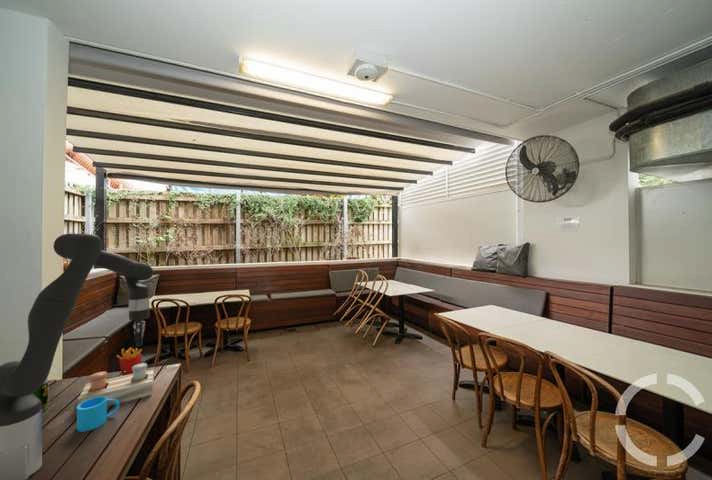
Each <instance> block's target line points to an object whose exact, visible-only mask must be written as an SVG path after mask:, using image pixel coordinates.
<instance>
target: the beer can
mask: <svg viewBox="0 0 712 480" xmlns="http://www.w3.org/2000/svg"><path fill="white" fill-rule="evenodd" d="M49 382H50V381H49V378H48V377H47V379H46V381H45V382H44V384H43V385H42V386H41V387H40V388H39V389H38V390H37V391H35V392H34V393H33V394H34V395H35V396H36V397H37V398H39V399H40V400H41V403H42V412H43V411H45V410H47V409H48V407H49V405H50V401H49V400H50V388H49V386H50V383H49Z"/></svg>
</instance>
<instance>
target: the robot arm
mask: <svg viewBox="0 0 712 480" xmlns="http://www.w3.org/2000/svg"><path fill="white" fill-rule="evenodd" d="M53 251H54V252H55V254H57V256H59V257H61V258H63V259H68V260H70V261H69V263H68V265H67V267H66V269H65V270H63V272H62V273H61V274H60V275H59V276H57V277H56V279H54V280H53V281H51V282H50V283H49V284H48V285H47V286H45V287H44V288H43V289H42V290H41V291H40V292H39V293H38V295H37V297H36V298H35V300H34V302H33V305H32V306H31V308H30V311H29V313H28V317H27V329H28V330H27V331H28V342H27V343H28V344H27V347H26V349H25V352H24V354H23V356H22V358H21V360H14V361H8V362H6V363H3V364H0V480H28V479H29V477H30V476H32V475H33V474H35V473H36V472H37V471H38V470H39V469H41V467H42V465H43V453H42V452H43V449H42V448H43V439H42V435H43V432H42V430H43V429H42V427H43V426H42V424H43V423H42V421H43V417H42V412H43V411H42V403H41V400H40V399H39V398H37V397H36V396H35V395H34V394H33V393H34V392H35V391H37V390H38V389H39V388H40V387H41V386H42V385H43V384H44V382H45V381H46V379H47V378H48V377H49V375H50V372H51V369H52V366H53V363H54V358H55V355H56V351H57V348H58V345H59V343H60V340H61V337H62V336H63V332H64V330H65V328H66V325H67V323H68V321H69V319H70V316H71V315H72V312H73V310H74V308H75V305H76V303H77V300H78V297H79V295H80V292H81V291H82V288H83V286H84V284H85V282H86V280H87V277H88V276H89V274H90V272H91V271H92V269H93V267H94V266H97V267H100V268H103V269H106V270H109V271H111V272H113V273H116V274H118V275H121V276H124V279H125V282H126V285H127V288H128V291H129V292H128V293H129V295H128V296H129V298H128V299H129V300H128V319H129V321H135V322H134V323H133V328H134V329H133V333H134V339H135V345H136V348H139V347H142V346H143V343H144V342H143V341H144V338H143V337H144V332H145V327H146V321H145V320H146V319H148V318H150V315H151V314H150V298H149V297H150V295H149V294H150V292H149V291H150V289H149V286H148V285H146V284H142V283H141V281H149V280H150V279H151V278H152V277H153V275H154V270H153V268H152V266H150V265H148V264H146V263H143V262H138V261H134V260H132V259H130V258H128V257H126V256H124V255H121V254H119V253H118V254H117V253H115V252H111V251H107V250H103V241H102V239H101V237H99V236H98V235H95V234H91V233H89V234H88V233H75V232H74V233H72V232H71V233H65V234H61V235H60V236H58V237H56V239H55V240H54V241H53Z"/></svg>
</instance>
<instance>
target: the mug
mask: <svg viewBox="0 0 712 480" xmlns="http://www.w3.org/2000/svg"><path fill="white" fill-rule="evenodd" d="M108 401H113V402H115V403H116V404H115V405H116V406H115V408H114V409H113V410H112V411H111V412H110V413H109V414H108V410H107V409H108V406H107V402H108ZM120 404H121V403H119V401H118V400H116V399H107V398H106V397H95V398H92V399H89V400H86V401H84V402H82V403H81V404H79V405H78V404H77V406H76V430H77V432H82V433H83V432H89V431H92V430H95V429H97V428H99V427H101V426H102V425H104V424H105V423H106V422H107V419H108V418H109V417H111V416H112V415H114V414H115V413H116V412H117V411H118V409H119V408H120Z"/></svg>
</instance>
